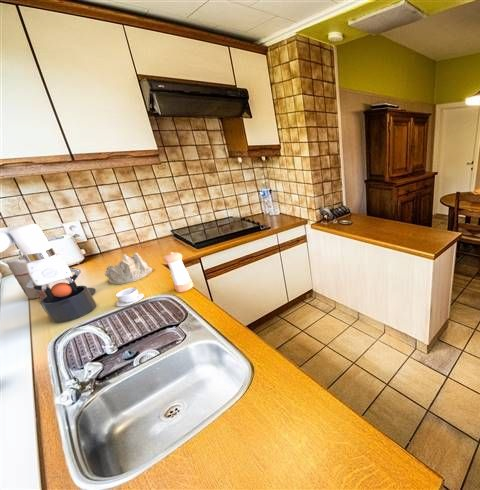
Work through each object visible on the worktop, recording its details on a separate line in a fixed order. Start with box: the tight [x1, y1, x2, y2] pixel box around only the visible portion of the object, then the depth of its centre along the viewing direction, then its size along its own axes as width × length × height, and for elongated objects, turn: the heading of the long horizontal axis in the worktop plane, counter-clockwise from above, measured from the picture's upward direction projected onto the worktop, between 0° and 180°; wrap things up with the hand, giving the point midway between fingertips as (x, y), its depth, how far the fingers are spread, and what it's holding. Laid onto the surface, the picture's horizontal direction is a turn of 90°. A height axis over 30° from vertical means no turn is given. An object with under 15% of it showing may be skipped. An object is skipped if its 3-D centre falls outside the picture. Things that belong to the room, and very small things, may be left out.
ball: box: [50, 282, 73, 297], centre depth 110 cm, size 6×6×6 cm
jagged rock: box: [104, 252, 154, 285], centre depth 140 cm, size 16×16×15 cm
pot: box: [39, 285, 98, 324], centre depth 113 cm, size 14×19×10 cm
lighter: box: [33, 282, 50, 301], centre depth 124 cm, size 8×3×10 cm, turn 73°
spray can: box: [6, 257, 52, 300], centre depth 126 cm, size 8×8×20 cm
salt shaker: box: [163, 251, 194, 293], centre depth 125 cm, size 7×7×19 cm
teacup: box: [115, 287, 145, 307], centre depth 120 cm, size 10×10×5 cm
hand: (64, 293), depth 111 cm, fingers closed on ball, 5 cm apart
